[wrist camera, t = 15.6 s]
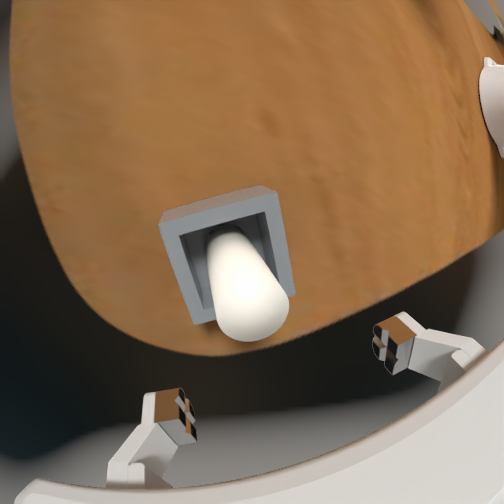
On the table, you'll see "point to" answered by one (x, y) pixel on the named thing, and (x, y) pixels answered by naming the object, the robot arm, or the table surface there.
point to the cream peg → (243, 286)
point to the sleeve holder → (211, 216)
